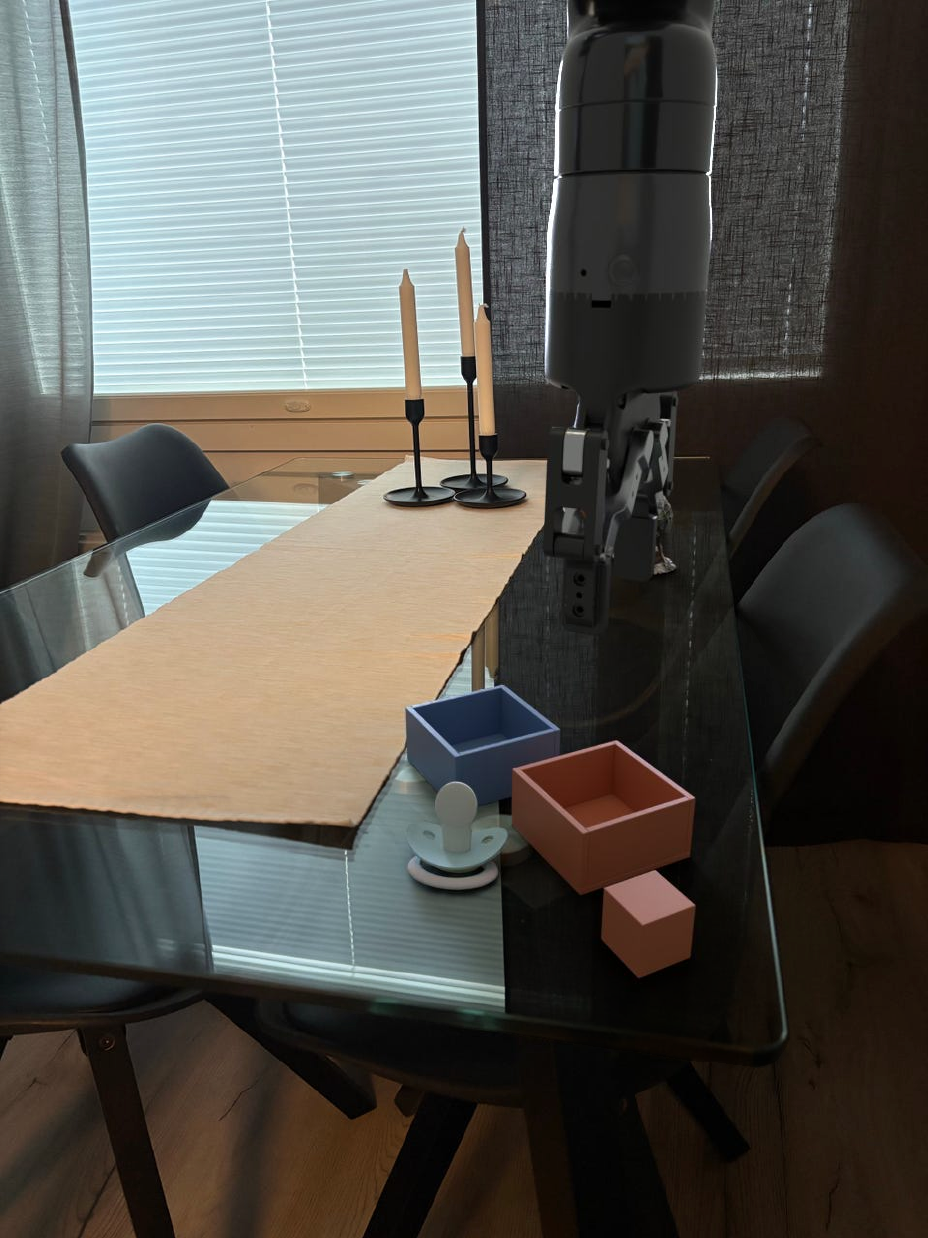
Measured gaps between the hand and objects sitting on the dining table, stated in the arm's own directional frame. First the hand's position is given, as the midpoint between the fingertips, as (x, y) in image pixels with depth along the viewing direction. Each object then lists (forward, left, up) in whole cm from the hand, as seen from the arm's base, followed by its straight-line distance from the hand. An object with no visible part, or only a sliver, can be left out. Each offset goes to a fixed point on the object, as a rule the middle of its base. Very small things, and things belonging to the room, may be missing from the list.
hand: (610, 603), depth 51 cm
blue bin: (+4, +23, -24) cm, 33 cm away
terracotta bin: (+7, +10, -24) cm, 27 cm away
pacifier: (-4, +12, -24) cm, 27 cm away
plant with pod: (+49, +60, -24) cm, 81 cm away
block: (+3, -1, -24) cm, 24 cm away
